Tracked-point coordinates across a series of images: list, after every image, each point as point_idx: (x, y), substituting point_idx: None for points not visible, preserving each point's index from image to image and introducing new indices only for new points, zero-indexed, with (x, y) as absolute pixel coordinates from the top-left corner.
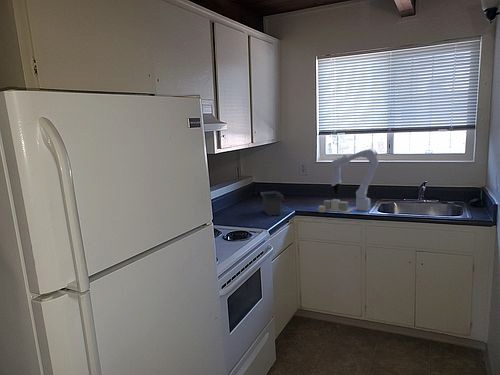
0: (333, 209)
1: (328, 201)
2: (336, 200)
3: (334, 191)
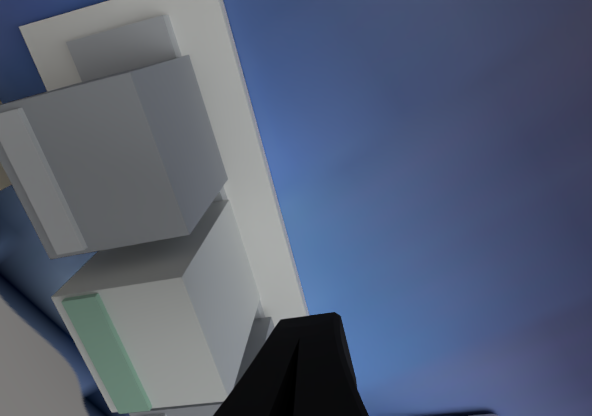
0: None
1: (46, 223)
2: (113, 390)
3: (240, 381)
